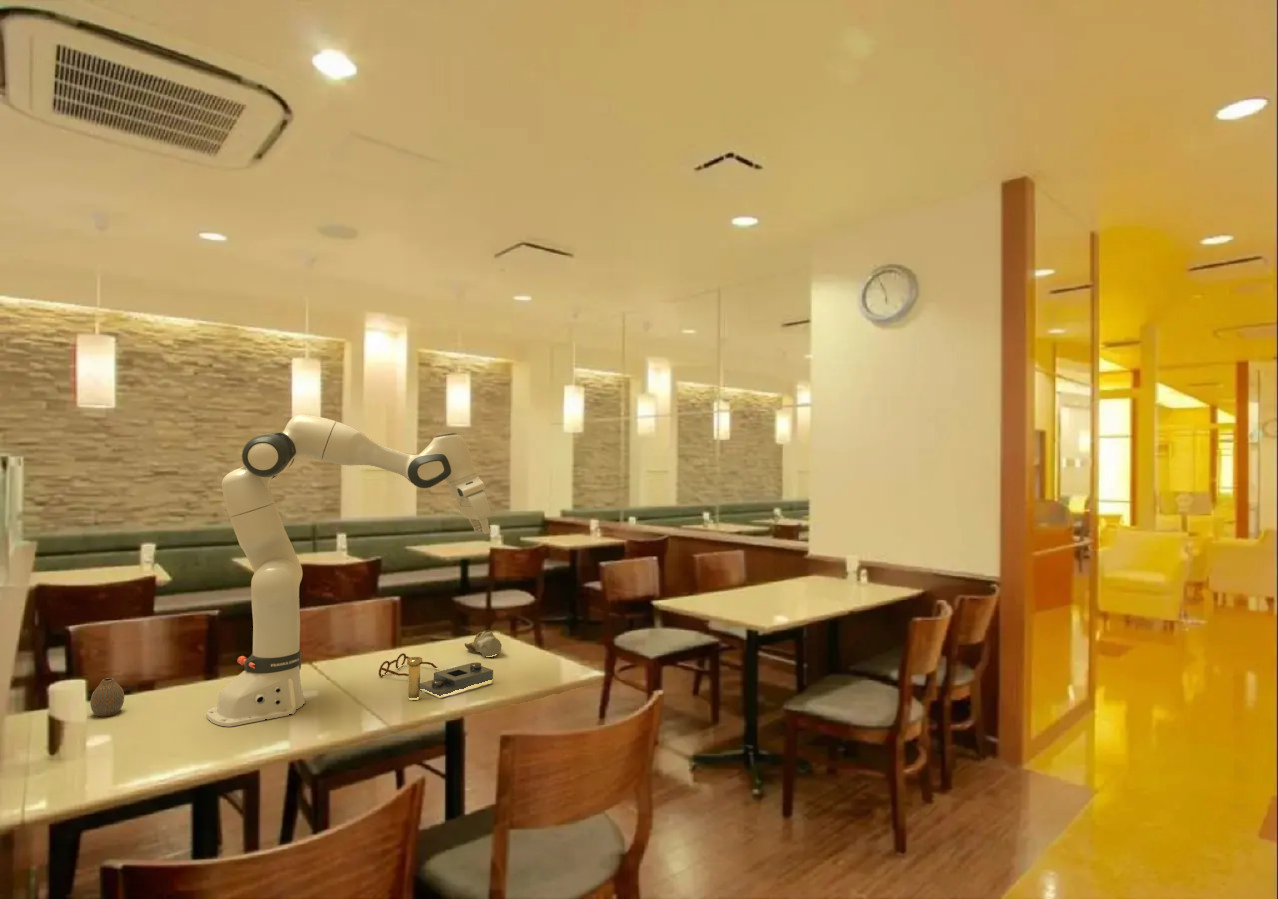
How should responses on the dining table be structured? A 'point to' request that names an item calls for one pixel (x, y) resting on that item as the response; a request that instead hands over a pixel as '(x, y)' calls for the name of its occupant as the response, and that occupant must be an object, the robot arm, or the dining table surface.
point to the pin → (414, 676)
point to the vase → (107, 698)
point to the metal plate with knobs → (457, 678)
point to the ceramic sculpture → (485, 644)
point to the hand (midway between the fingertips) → (482, 532)
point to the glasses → (397, 666)
